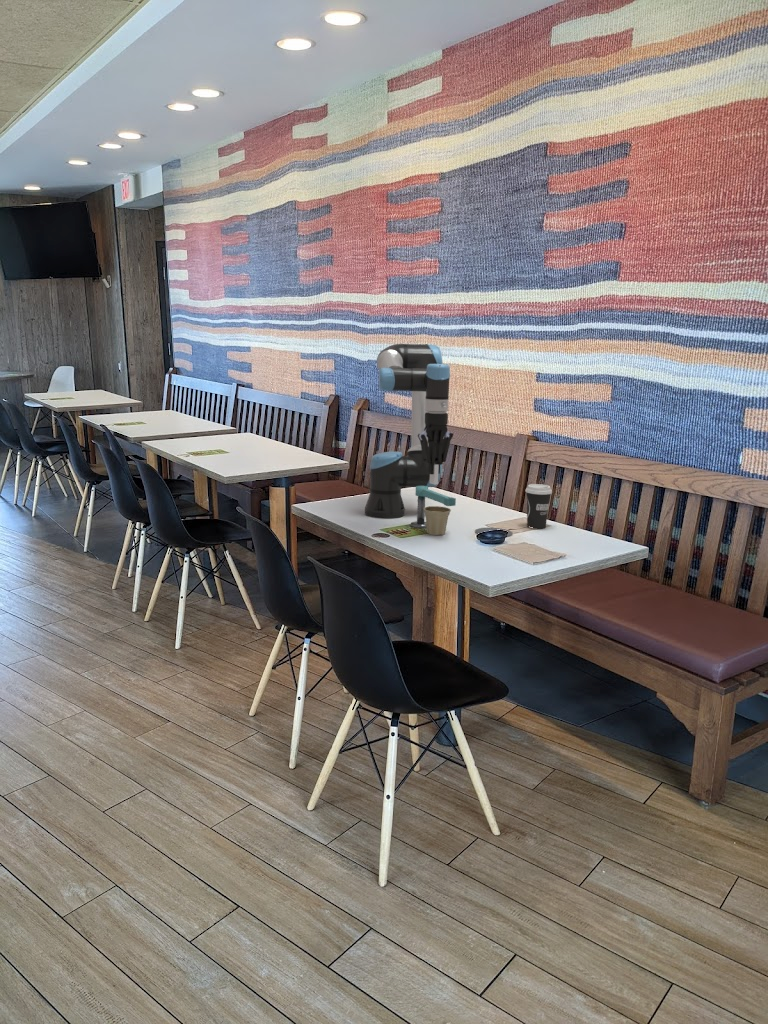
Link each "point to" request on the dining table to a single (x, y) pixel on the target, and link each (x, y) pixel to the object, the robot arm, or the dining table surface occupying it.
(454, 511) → the dining table surface
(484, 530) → the pad
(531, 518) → the coffee cup
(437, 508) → the flower pot
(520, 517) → the dining table surface
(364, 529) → the dining table surface
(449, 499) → the teal paddle stick
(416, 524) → the grey pedestal stand
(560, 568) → the dining table surface
